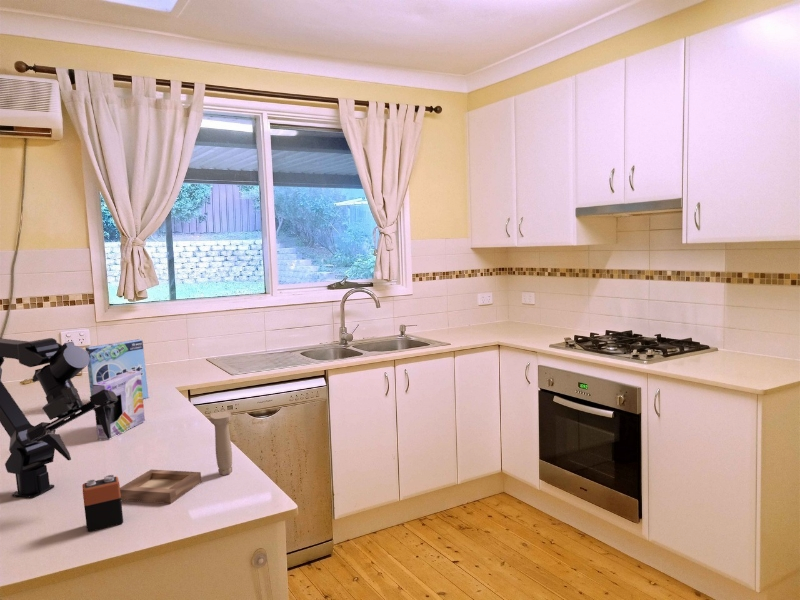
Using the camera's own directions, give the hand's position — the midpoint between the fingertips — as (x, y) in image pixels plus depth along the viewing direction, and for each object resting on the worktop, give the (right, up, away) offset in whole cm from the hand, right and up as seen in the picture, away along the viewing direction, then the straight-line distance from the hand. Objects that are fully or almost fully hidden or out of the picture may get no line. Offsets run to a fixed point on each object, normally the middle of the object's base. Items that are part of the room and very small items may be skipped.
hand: (89, 449), depth 135 cm
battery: (+8, -14, -9) cm, 18 cm away
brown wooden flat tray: (+13, -12, +7) cm, 19 cm away
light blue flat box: (-36, -6, +93) cm, 100 cm away
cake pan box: (-19, -9, +57) cm, 61 cm away
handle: (+26, -10, +16) cm, 32 cm away
